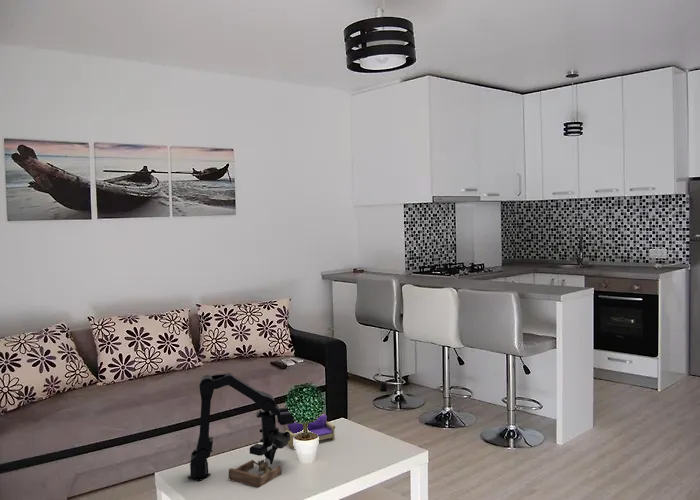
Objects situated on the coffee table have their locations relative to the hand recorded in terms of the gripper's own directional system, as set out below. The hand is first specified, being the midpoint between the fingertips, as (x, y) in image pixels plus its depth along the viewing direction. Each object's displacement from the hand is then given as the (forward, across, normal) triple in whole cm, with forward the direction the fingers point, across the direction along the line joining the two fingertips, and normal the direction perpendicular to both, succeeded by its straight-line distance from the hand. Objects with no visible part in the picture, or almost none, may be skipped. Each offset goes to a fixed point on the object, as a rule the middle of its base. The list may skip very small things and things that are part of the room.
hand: (270, 464), depth 248 cm
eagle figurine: (+2, -7, -2) cm, 7 cm away
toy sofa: (+2, +31, +2) cm, 31 cm away
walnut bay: (+1, -10, 0) cm, 10 cm away
